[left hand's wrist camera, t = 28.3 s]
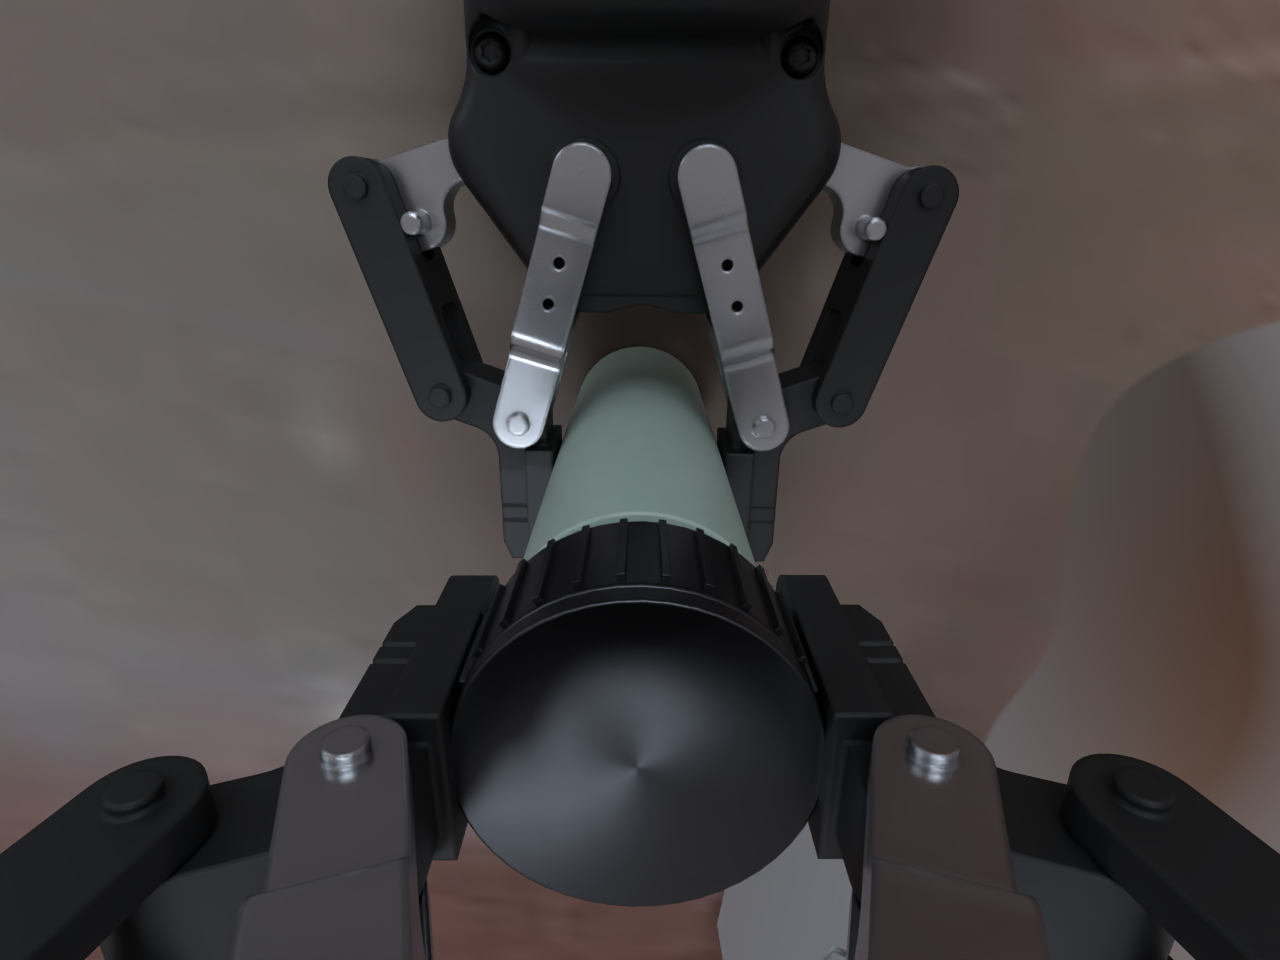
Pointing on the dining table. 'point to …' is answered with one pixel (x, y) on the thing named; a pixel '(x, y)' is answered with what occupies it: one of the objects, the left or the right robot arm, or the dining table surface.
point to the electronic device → (788, 908)
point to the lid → (637, 718)
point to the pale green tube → (639, 455)
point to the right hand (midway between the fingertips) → (639, 564)
